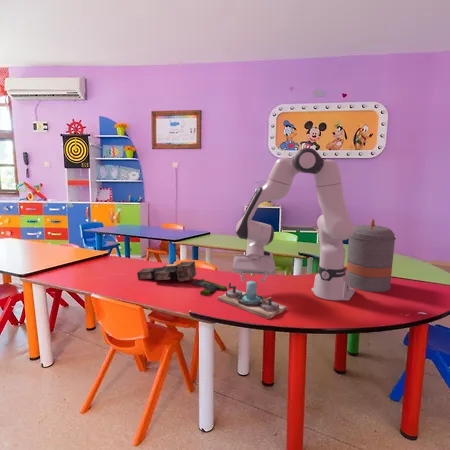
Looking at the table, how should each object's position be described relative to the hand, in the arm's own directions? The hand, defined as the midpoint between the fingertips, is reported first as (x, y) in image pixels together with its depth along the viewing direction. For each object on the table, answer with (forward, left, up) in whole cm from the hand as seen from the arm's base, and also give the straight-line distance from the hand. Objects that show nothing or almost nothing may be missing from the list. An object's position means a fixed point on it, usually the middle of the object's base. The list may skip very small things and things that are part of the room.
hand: (252, 281), depth 151 cm
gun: (+9, -23, -8) cm, 26 cm away
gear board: (+9, +6, -7) cm, 13 cm away
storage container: (-56, +32, -7) cm, 65 cm away
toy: (+14, -48, -8) cm, 51 cm away
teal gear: (+9, +6, -6) cm, 12 cm away
